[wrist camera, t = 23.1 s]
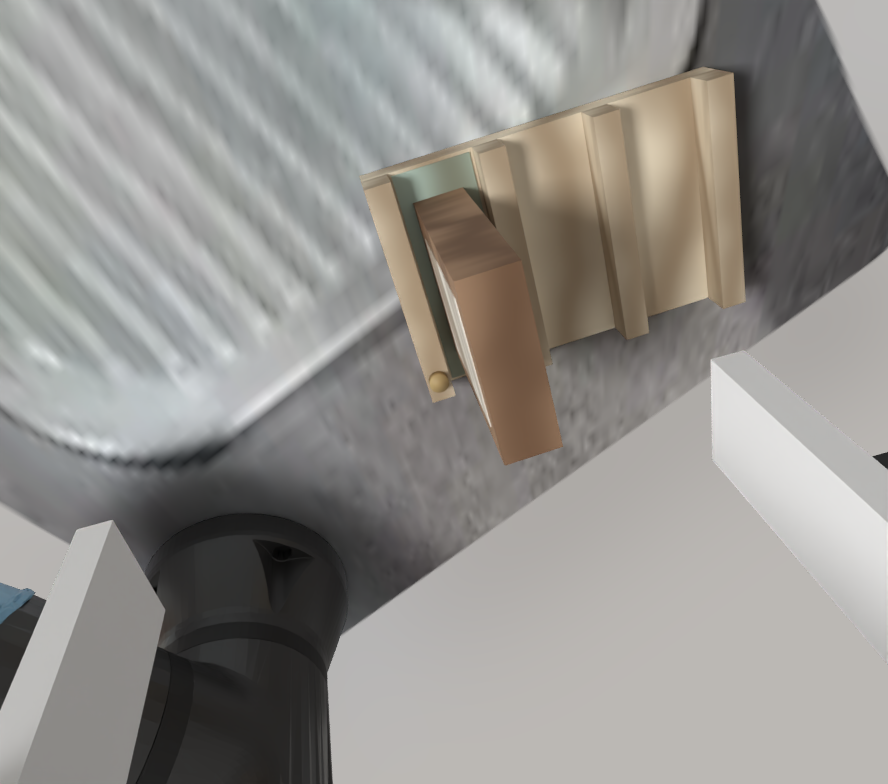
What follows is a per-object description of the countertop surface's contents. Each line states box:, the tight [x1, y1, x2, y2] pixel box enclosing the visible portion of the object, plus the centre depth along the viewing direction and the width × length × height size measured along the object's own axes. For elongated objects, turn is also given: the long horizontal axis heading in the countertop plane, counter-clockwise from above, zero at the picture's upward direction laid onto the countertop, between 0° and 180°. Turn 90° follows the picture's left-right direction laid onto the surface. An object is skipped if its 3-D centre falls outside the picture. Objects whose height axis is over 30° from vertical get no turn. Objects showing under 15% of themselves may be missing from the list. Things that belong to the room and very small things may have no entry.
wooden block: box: [413, 187, 563, 465], centre depth 38 cm, size 3×10×13 cm, turn 15°
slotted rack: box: [360, 67, 745, 403], centre depth 44 cm, size 21×14×4 cm, turn 105°
